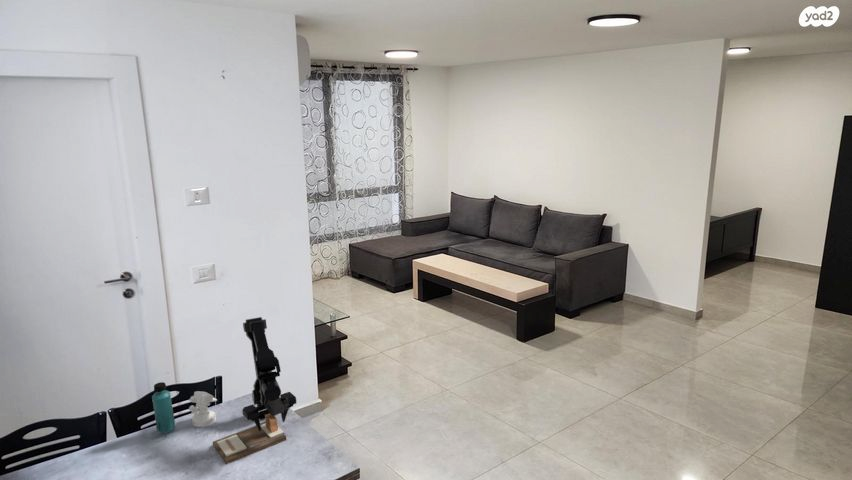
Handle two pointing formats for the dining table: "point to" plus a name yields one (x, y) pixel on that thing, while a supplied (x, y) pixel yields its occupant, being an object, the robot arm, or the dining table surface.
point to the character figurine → (202, 409)
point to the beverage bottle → (163, 408)
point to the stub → (271, 426)
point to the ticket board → (245, 443)
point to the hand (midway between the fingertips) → (271, 426)
